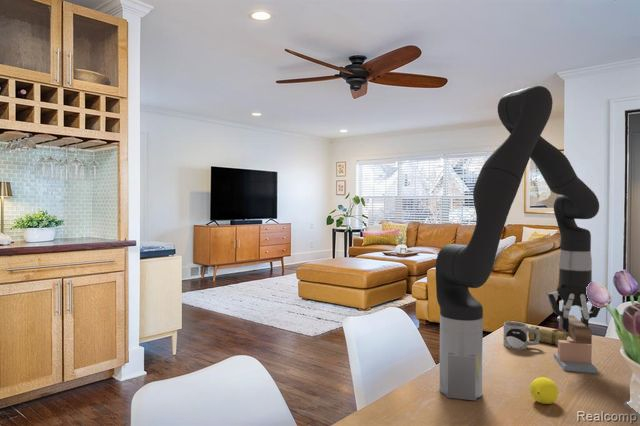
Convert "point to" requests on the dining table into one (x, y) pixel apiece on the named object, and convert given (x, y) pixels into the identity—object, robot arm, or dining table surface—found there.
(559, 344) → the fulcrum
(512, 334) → the mug
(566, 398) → the dining table surface
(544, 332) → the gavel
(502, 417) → the dining table surface
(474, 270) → the robot arm
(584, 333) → the walnut bar
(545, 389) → the lemon
